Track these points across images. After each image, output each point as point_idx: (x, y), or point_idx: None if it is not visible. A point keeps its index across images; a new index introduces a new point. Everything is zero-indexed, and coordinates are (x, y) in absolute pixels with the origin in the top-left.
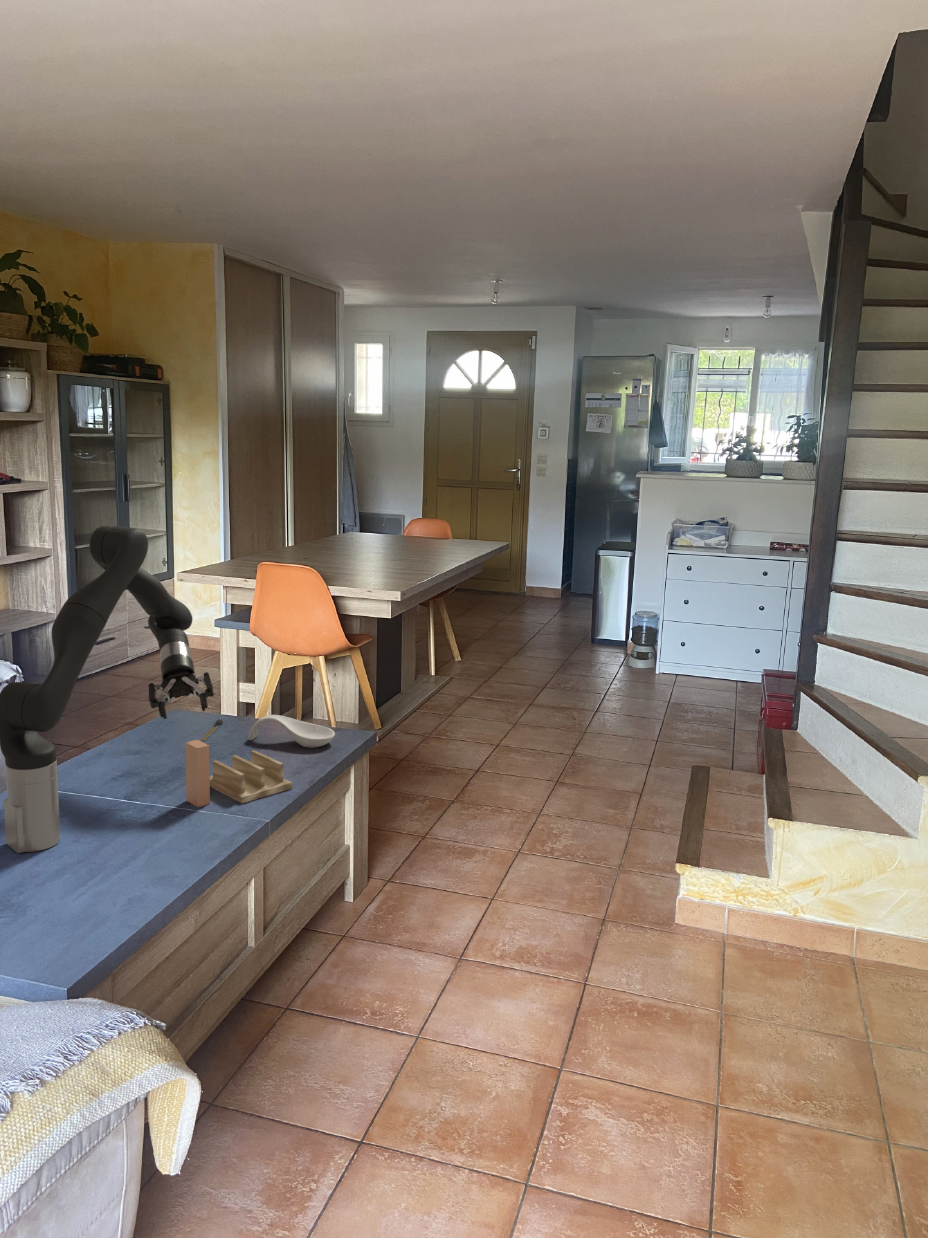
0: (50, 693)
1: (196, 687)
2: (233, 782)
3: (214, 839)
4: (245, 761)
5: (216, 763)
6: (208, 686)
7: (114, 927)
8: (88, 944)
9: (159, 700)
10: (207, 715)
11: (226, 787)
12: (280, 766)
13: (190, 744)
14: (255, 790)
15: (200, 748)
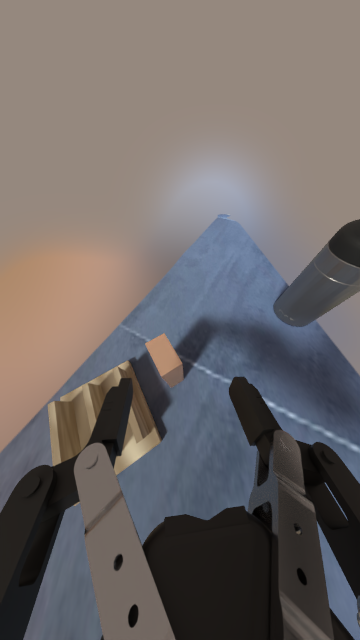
0: None
1: (107, 509)
2: None
3: (162, 300)
4: (94, 425)
5: (138, 426)
6: (28, 509)
7: (209, 237)
8: (216, 231)
9: (286, 438)
10: None
11: (137, 393)
12: (56, 401)
13: (174, 352)
14: (109, 377)
15: (159, 336)
